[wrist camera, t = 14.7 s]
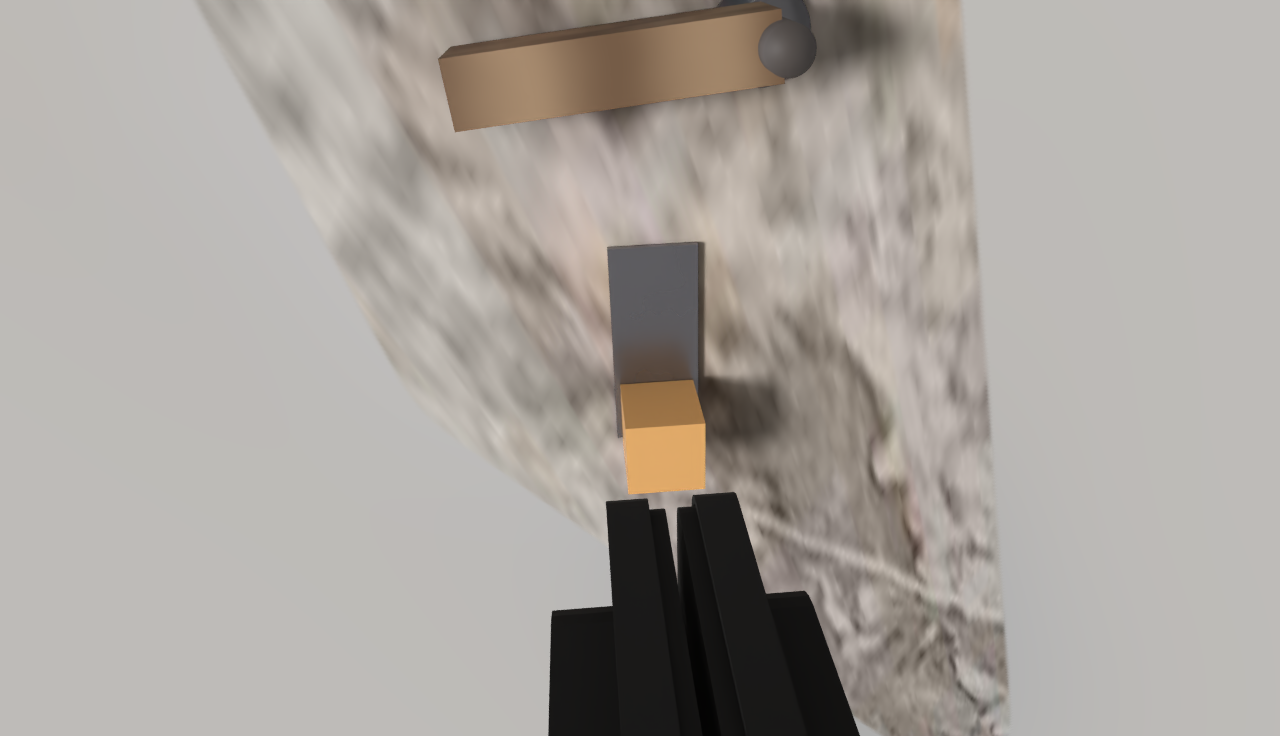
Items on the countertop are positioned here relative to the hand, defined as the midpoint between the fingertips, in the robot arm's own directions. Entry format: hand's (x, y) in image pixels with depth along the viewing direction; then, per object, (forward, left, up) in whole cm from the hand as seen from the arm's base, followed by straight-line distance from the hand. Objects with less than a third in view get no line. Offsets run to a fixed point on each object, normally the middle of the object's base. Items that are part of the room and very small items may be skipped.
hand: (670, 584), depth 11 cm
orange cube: (+13, +2, -26) cm, 30 cm away
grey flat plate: (+10, +2, -26) cm, 28 cm away
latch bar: (-3, +1, -26) cm, 26 cm away
